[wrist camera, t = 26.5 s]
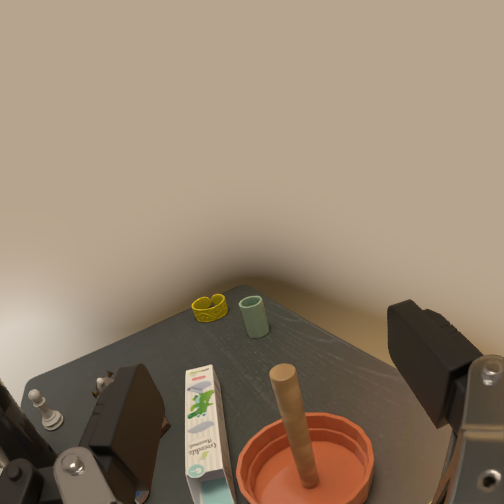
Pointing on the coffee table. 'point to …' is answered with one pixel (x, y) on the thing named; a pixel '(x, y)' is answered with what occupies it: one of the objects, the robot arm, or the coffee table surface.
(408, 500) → the coffee table surface
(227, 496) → the box
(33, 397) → the chess piece
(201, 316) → the bracelet
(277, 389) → the stick
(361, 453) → the bowl
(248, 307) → the holder
